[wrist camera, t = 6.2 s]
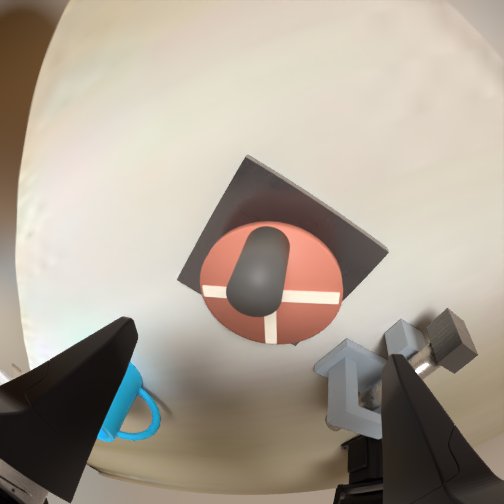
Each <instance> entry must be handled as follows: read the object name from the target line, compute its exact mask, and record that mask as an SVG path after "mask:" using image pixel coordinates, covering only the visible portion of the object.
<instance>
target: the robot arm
mask: <svg viewBox="0 0 504 504" xmlns="http://www.w3.org/2000/svg"><path fill="white" fill-rule="evenodd" d="M137 340H138V333H137V330H136V326H135V323H134V320H133V319H132V318H128V317H120V318H119V319H117V320H115V321H114V322H112V323H110V324H109V325H107V326H105V327H103V328H102V329H100V330H98V331H97V332H95V333H93V334H92V335H90V336H88V337H87V338H85V339H83V340H82V341H80V342H78V343H77V344H75V345H73V346H72V347H70V348H68V349H67V350H65V351H63V352H62V353H60V354H58V355H57V356H55V357H53V358H52V359H50V361H49V360H48V361H47V362H45V363H43V364H42V365H40V366H38V367H36V368H35V369H33V370H31V371H29V372H27V373H25V374H23V375H21V376H19V377H17V378H15V379H13V380H11V381H9V382H7V383H5V384H3V385H1V386H0V504H48V501H47V498H46V496H47V494H48V492H51V493H53V494H54V495H56V496H58V497H60V498H62V499H63V500H65V501H67V502H69V503H71V501H72V499H73V496H74V494H75V491H76V488H77V486H78V483H79V481H80V478H81V476H82V473H83V471H84V468H85V466H86V463H87V460H88V458H89V456H90V453H91V451H92V448H93V446H94V443H95V441H96V439H97V436H98V434H99V432H100V429H101V427H102V425H103V423H104V420H105V418H106V416H107V413H108V411H109V409H110V407H111V405H112V402H113V400H114V398H115V396H116V394H117V391H118V389H119V387H120V385H121V383H122V381H123V379H124V376H125V374H126V371H127V369H128V366H129V363H130V360H131V357H132V354H133V352H134V349H135V346H136V343H137ZM381 424H382V438H381V439H375V438H372V437H368V436H365V435H362V436H360V437H358V438H355V439H353V440H351V441H349V442H347V443H345V444H343V445H342V446H341V449H344V450H347V451H348V473H349V484H347V485H343V484H341V485H338V487H337V488H336V493H335V498H334V502H333V504H504V480H501V479H500V478H498V477H497V476H496V475H495V474H494V473H493V472H492V471H491V470H490V468H489V467H488V466H487V465H486V464H485V463H484V461H483V460H482V459H481V458H480V457H479V455H478V454H477V453H476V452H475V451H474V449H473V448H472V447H471V446H470V445H469V443H468V442H467V441H466V439H465V438H464V437H463V435H462V434H461V432H460V431H459V430H458V428H457V427H456V426H454V423H453V421H452V420H451V418H450V417H449V416H448V414H447V413H446V411H445V410H444V409H443V407H442V406H441V404H440V403H439V402H438V400H437V399H436V398H435V396H434V395H433V393H432V392H431V391H430V389H429V388H428V387H427V385H426V384H425V383H424V381H423V380H422V379H421V377H420V376H419V375H418V373H417V372H416V371H415V369H414V368H413V367H412V366H411V364H410V363H409V362H408V360H407V359H406V358H405V356H404V355H403V354H398V353H392V354H390V356H389V358H388V360H387V362H386V364H385V366H384V368H383V371H382V397H381Z"/></svg>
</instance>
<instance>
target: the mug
mask: <svg viewBox="0 0 504 504" xmlns="http://www.w3.org/2000/svg"><path fill="white" fill-rule="evenodd" d="M142 381H143V380H142V378H141V375H140V373H139V372H138V370H137V369H136V368H135V366H134V365H133V364H132V363H131V362H130V363H129V366H128V369H127V371H126V374H125V376H124V379H123V381H122V383H121V385H120V387H119V389H118V391H117V394H116V396H115V398H114V400H113V402H112V405H111V407H110V409H109V411H108V413H107V416H106V418H105V420H104V423H103V425H102V427H101V429H100V432H99V434H98V436H97V438H98V439H100V440H103V441H108V442H112V441H114V439H115V437H116V436H117V437H119V438H122V439H127V440H133V441H135V440H143V439H147V438H148V437H150V436H152V435H154V434H155V433H156V431H157V430H158V429H159V427H160V421H161V416H160V412H159V408H158V406H157V405H156V403H155V401H154V399H153V398H152V397H151V396H150V395H149V394H148V393H147V392H146V391H145V390H144V389H142V388H141V386H142ZM137 394H139V395H140V396H141V397H142V398H143V399H144V400H145V401H146V402H147V403H148V405H149V407H150V409H151V411H152V416H153V419H152V424H151V425H150V427H149V428H148V429H147V430H145V431H143V432H141V433H133V434H132V433H126V432H121V431H119V429H120V427H121V425H122V423H123V421H124V419H125V417H126V415H127V413H128V411H129V409H130V407H131V405H132V403H133V401H134V400H135V398H136V396H137Z"/></svg>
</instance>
